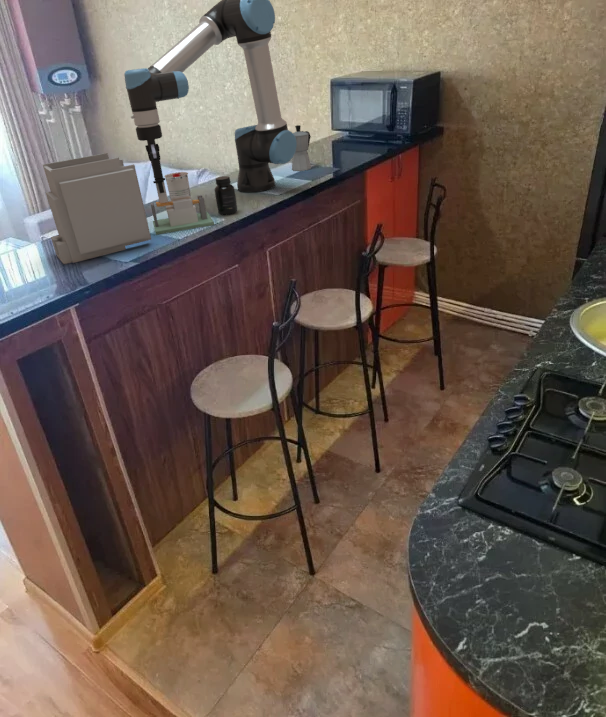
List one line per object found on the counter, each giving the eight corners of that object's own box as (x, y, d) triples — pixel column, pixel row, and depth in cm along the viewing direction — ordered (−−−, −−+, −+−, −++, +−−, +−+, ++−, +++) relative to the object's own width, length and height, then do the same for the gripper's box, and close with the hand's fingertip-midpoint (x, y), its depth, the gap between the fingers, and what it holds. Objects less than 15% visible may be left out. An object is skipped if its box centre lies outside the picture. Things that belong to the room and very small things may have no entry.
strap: (202, 201, 192) (201, 196, 192) (203, 203, 189) (203, 199, 189) (156, 204, 189) (155, 199, 188) (156, 206, 186) (156, 202, 185)
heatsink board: (207, 214, 200) (203, 190, 196) (214, 224, 188) (209, 199, 184) (153, 223, 196) (147, 199, 192) (155, 234, 184) (150, 208, 180)
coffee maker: (302, 172, 245) (298, 128, 236) (285, 172, 250) (280, 128, 241) (320, 165, 256) (317, 121, 247) (303, 164, 260) (299, 122, 251)
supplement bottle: (216, 212, 202) (210, 177, 196) (234, 208, 204) (229, 174, 198) (221, 216, 196) (215, 181, 190) (240, 213, 198) (235, 177, 192)
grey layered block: (54, 252, 178) (26, 166, 165) (137, 232, 189) (117, 149, 176) (66, 267, 165) (37, 174, 152) (154, 244, 176) (134, 156, 163)
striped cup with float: (188, 211, 206) (181, 177, 200) (166, 212, 208) (159, 178, 202) (198, 203, 215) (192, 170, 209) (177, 204, 216) (170, 172, 211)
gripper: (134, 124, 180) (151, 199, 192) (136, 129, 169) (153, 208, 181) (158, 121, 182) (173, 196, 194) (161, 125, 171) (177, 204, 183)
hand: (163, 202), depth 187 cm, fingers closed
